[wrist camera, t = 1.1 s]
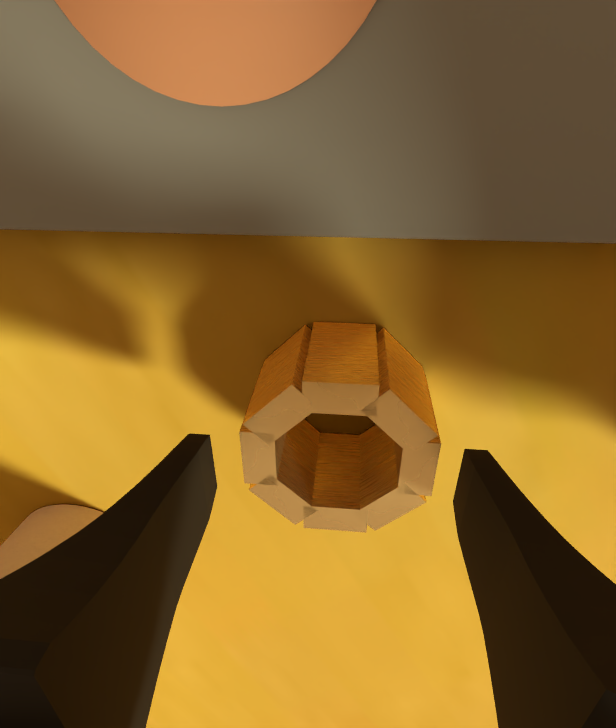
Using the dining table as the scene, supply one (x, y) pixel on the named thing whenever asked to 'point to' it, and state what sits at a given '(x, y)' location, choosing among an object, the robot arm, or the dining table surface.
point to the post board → (311, 118)
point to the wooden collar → (341, 451)
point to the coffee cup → (43, 534)
